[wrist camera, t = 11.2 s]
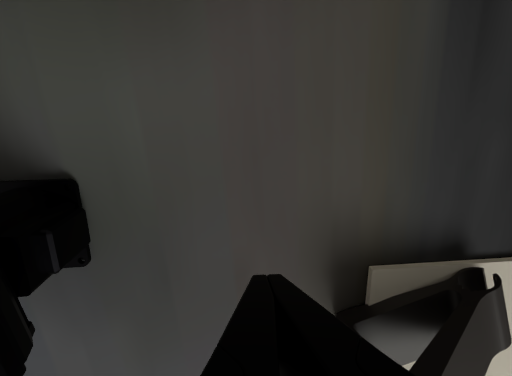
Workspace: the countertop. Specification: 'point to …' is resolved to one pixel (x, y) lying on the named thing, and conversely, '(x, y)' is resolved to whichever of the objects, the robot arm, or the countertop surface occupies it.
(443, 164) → the countertop surface
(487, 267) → the mat
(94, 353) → the countertop surface
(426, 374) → the phone stand
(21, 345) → the robot arm
